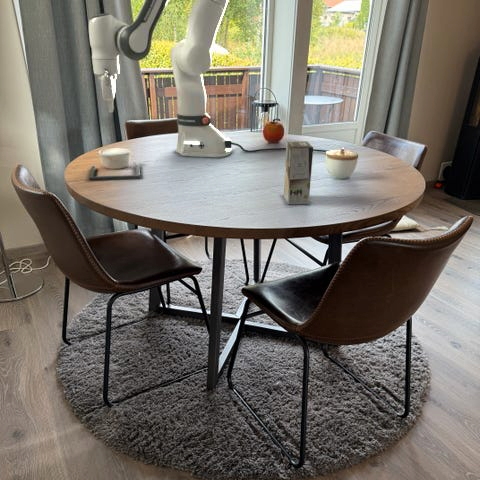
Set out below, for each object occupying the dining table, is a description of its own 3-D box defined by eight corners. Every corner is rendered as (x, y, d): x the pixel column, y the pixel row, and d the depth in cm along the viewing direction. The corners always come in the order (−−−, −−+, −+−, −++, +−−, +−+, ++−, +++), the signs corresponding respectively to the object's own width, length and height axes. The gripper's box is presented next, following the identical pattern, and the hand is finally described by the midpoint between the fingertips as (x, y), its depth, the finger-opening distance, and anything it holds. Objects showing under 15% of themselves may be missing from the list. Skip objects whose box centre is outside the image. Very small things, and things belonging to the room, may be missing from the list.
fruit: (272, 138, 224) (273, 115, 219) (288, 142, 218) (289, 118, 213) (257, 141, 218) (258, 117, 213) (273, 145, 212) (274, 120, 207)
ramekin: (97, 163, 182) (95, 148, 179) (128, 161, 186) (126, 146, 183) (103, 171, 173) (101, 155, 170) (134, 168, 177) (133, 153, 174)
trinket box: (357, 174, 174) (361, 146, 169) (353, 182, 165) (356, 153, 160) (327, 171, 177) (329, 143, 172) (321, 178, 168) (323, 150, 163)
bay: (92, 169, 176) (91, 166, 175) (139, 167, 178) (138, 164, 178) (89, 180, 163) (89, 177, 162) (140, 178, 166) (139, 175, 165)
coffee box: (309, 204, 144) (314, 147, 136) (287, 204, 144) (291, 147, 135) (303, 195, 152) (307, 140, 144) (282, 195, 152) (285, 140, 143)
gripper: (114, 70, 164) (119, 115, 171) (116, 65, 181) (120, 106, 188) (95, 70, 163) (100, 115, 170) (98, 65, 180) (103, 106, 187)
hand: (111, 110), depth 179 cm, fingers open, 4 cm apart
